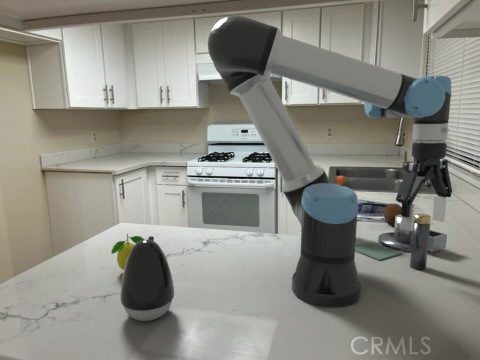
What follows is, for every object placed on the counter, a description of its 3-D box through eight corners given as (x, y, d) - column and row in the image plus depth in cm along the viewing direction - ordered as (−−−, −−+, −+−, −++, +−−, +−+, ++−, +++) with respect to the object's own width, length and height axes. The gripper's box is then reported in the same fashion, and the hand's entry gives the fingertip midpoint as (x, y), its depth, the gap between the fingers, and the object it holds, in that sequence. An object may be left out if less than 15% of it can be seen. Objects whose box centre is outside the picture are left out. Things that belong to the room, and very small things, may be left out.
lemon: (147, 268, 92) (146, 231, 91) (135, 278, 87) (133, 238, 85) (125, 265, 94) (123, 228, 93) (111, 274, 89) (109, 235, 87)
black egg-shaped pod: (178, 300, 76) (176, 231, 74) (170, 328, 66) (168, 249, 63) (129, 300, 76) (126, 231, 73) (114, 329, 66) (109, 250, 63)
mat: (379, 260, 98) (379, 259, 98) (350, 249, 106) (350, 248, 106) (402, 253, 103) (402, 252, 103) (373, 243, 111) (373, 242, 111)
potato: (391, 221, 137) (393, 200, 135) (412, 228, 128) (414, 206, 126) (376, 223, 134) (378, 202, 132) (397, 230, 125) (399, 208, 123)
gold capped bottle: (420, 271, 91) (425, 218, 89) (406, 266, 94) (411, 214, 92) (429, 268, 93) (434, 216, 91) (415, 263, 96) (419, 212, 94)
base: (413, 256, 101) (414, 253, 101) (367, 240, 114) (367, 237, 114) (445, 246, 109) (446, 243, 109) (398, 232, 123) (399, 229, 122)
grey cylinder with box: (432, 252, 101) (435, 214, 99) (389, 238, 113) (391, 203, 111) (446, 247, 104) (449, 210, 103) (402, 234, 116) (405, 201, 114)
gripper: (412, 144, 79) (406, 237, 82) (472, 140, 91) (464, 220, 95) (383, 143, 85) (378, 229, 88) (442, 139, 98) (436, 214, 101)
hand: (423, 225), depth 92 cm, fingers open, 13 cm apart
